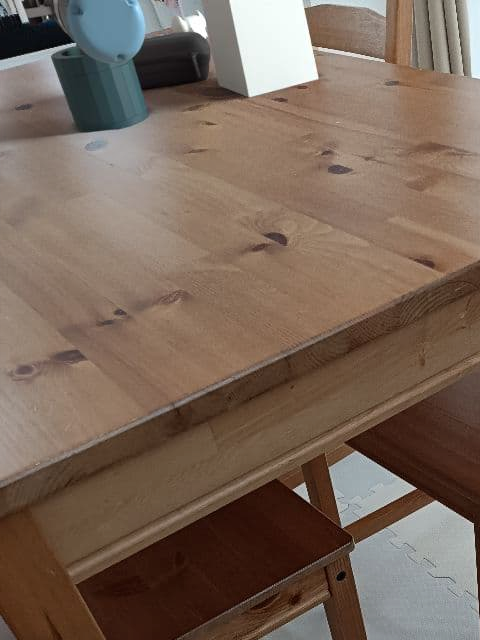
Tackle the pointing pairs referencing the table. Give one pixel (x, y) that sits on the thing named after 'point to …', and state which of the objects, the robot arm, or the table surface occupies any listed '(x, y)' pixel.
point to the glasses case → (172, 59)
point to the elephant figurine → (190, 24)
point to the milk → (259, 44)
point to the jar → (99, 91)
